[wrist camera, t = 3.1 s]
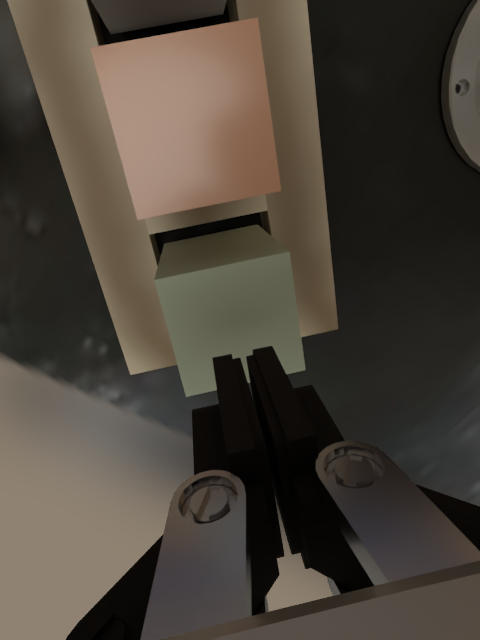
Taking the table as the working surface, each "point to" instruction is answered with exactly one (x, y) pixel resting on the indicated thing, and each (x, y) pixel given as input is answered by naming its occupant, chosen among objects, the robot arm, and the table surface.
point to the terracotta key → (191, 116)
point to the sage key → (228, 302)
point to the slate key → (153, 12)
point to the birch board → (139, 235)
